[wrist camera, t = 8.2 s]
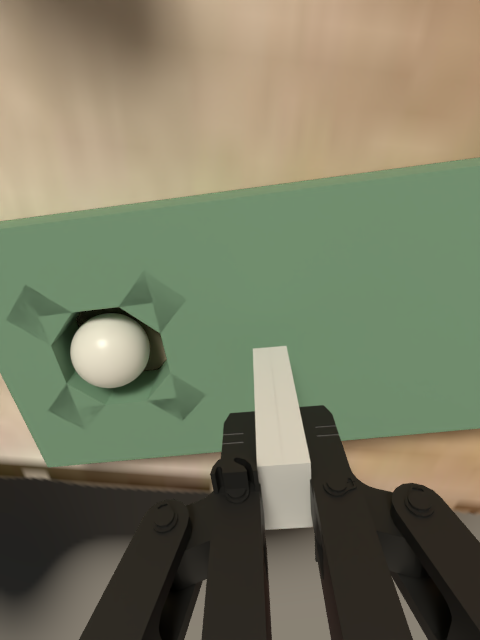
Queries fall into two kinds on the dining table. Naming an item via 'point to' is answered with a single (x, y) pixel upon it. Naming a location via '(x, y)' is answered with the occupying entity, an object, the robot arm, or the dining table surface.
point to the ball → (110, 350)
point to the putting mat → (252, 309)
